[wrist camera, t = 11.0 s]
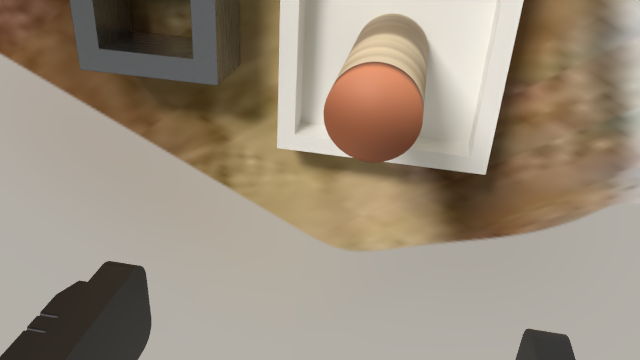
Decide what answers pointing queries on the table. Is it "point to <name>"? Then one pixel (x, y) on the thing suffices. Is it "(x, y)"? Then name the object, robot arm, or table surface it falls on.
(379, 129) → the pin
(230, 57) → the socket block
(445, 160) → the tray
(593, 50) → the table surface
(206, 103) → the table surface
